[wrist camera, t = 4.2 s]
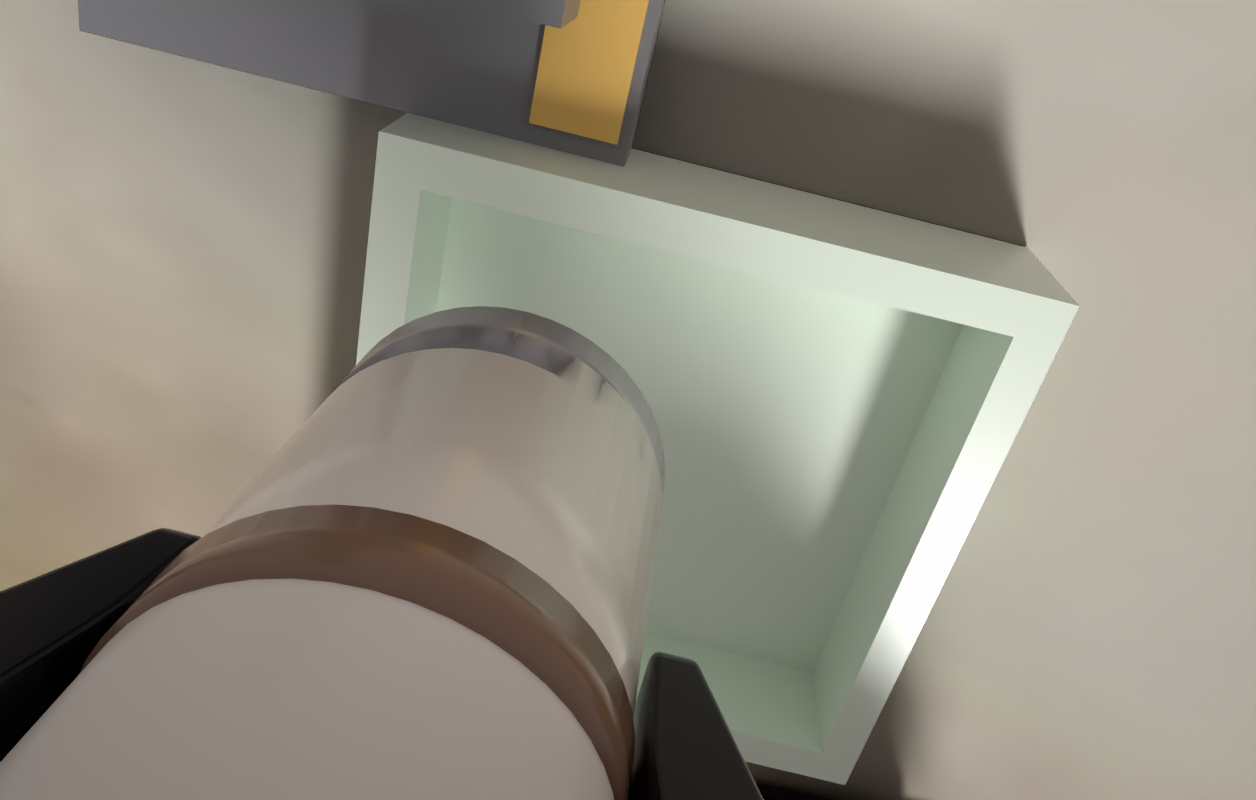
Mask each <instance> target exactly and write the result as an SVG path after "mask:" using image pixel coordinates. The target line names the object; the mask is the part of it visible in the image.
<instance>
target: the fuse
mask: <svg viewBox="0 0 1256 800" xmlns="http://www.w3.org/2000/svg"><path fill="white" fill-rule="evenodd" d="M664 481H665V460H664V449H663V444H662V440H661V436H660V432H659V428H658V425H657V423H656V420H655V418H654V416H653V413H652V411H651V408H650V406H649V405H648V403H647V401H646V399H645V398H644V396H643V394H642V392H641V391H640V389H639V388H638V387H637V385H636V384H635V383H634V381H633V380H632V379H631V377H630V376H629V375H628V373H627V372H626V371H625V370H624V369H623V368H622V367H621V366H620V365H619V364H618V363H617V362H616V361H615V360H614V359H613V358H612V357H611V356H610V355H609V354H608V353H606V352H605V351H604V350H602V349H601V348H600V347H599V346H597V345H596V344H595V343H594V342H592V341H591V340H589V339H587V338H586V337H584V336H583V335H581V334H579V333H578V332H576V331H574V330H573V329H571V328H569V327H566V326H564V325H562V324H560V323H558V322H555V321H553V320H551V319H548V318H545V317H542V316H539V315H536V314H532V313H529V312H525V311H520V310H514V309H509V308H503V307H487V306H475V307H459V308H454V309H448V310H443V311H438V312H435V313H432V314H429V315H426V316H423V317H420V318H417V319H415V320H413V321H411V322H409V323H407V324H405V325H403V326H401V327H399V328H397V329H396V330H394V331H393V332H391V333H390V334H389V335H387V336H386V337H384V338H383V339H382V340H380V341H379V342H378V343H377V344H376V345H375V346H374V347H373V348H372V349H371V350H370V351H369V352H368V353H367V354H366V355H365V356H364V357H363V358H362V359H361V360H360V362H359V363H358V364H357V365H356V366H355V367H354V368H353V369H352V370H351V372H350V373H349V374H348V375H347V376H346V377H345V378H344V379H343V381H342V382H341V383H340V384H339V385H338V386H337V387H336V388H335V389H334V391H333V392H332V393H331V394H330V395H329V396H328V397H327V398H326V399H325V401H324V402H323V403H322V404H321V405H320V406H319V407H318V408H317V410H316V411H315V412H314V413H313V414H312V415H311V416H310V417H309V418H308V420H307V421H306V422H305V423H304V424H303V425H302V426H301V427H300V428H299V430H298V431H297V432H296V433H295V434H294V435H293V436H292V437H291V439H290V440H289V441H288V442H287V443H286V444H285V445H284V446H283V447H282V449H281V450H280V451H279V452H278V453H277V454H276V455H275V456H274V457H273V459H272V460H271V461H270V462H269V463H268V464H267V465H266V466H265V468H264V469H263V470H262V471H261V472H260V473H259V474H258V475H257V476H256V478H255V479H254V480H253V481H252V482H251V483H250V484H249V485H248V487H247V488H246V489H245V490H244V491H243V492H242V493H241V494H240V495H239V497H238V498H237V499H236V500H235V501H234V502H233V503H232V504H231V505H230V507H229V508H228V509H227V510H226V511H225V512H224V513H223V514H222V516H221V517H220V518H219V519H218V520H217V521H216V522H215V523H214V524H213V526H212V527H211V528H210V529H209V530H208V531H207V532H206V533H205V534H204V536H203V537H202V538H201V539H199V540H198V541H196V542H195V543H193V544H192V545H190V546H189V547H188V548H186V549H185V550H184V551H183V552H182V553H180V554H179V555H178V556H177V557H176V558H175V559H174V560H173V561H172V562H171V563H170V564H169V565H168V566H167V567H166V568H165V569H164V570H163V571H162V572H161V573H160V574H159V575H158V577H157V578H156V579H155V580H154V581H153V582H152V583H151V584H150V585H149V586H148V587H147V589H146V590H145V591H144V592H143V593H142V594H141V595H140V596H139V597H138V598H137V600H136V601H135V602H134V603H133V604H132V605H131V606H130V607H129V608H128V609H127V611H126V612H125V613H124V614H123V615H122V616H121V617H120V618H119V619H118V620H117V622H116V623H115V624H114V625H113V626H112V627H111V628H110V629H109V630H108V631H107V633H106V634H105V635H104V636H103V637H102V638H101V639H100V641H99V642H98V643H97V645H96V646H95V648H94V649H93V650H92V652H91V653H90V655H89V656H88V657H87V659H86V660H85V662H84V664H83V667H82V669H81V671H80V673H79V675H78V676H77V677H76V678H75V680H74V681H73V682H72V683H71V684H70V685H69V686H68V687H67V688H66V690H65V691H64V692H63V693H62V694H61V695H60V696H59V697H58V698H57V700H56V701H55V702H54V703H53V704H52V705H51V706H50V707H49V709H48V710H47V711H46V712H45V713H44V714H43V715H42V716H41V717H40V719H39V720H38V721H37V722H36V723H35V724H34V725H33V726H32V727H31V729H30V730H29V731H28V732H27V733H26V734H25V735H24V736H23V738H22V739H21V740H20V741H19V742H18V743H17V744H16V745H15V746H14V748H13V749H12V750H11V751H10V752H9V753H8V754H7V755H6V756H5V758H4V759H3V760H2V761H1V762H0V800H629V799H630V791H631V783H632V775H633V767H634V754H635V730H634V722H633V718H634V711H635V703H636V696H637V688H638V680H639V673H640V665H641V658H642V650H643V643H644V635H645V628H646V620H647V612H648V605H649V597H650V590H651V582H652V575H653V567H654V560H655V552H656V544H657V537H658V529H659V522H660V514H661V507H662V499H663V492H664Z"/></svg>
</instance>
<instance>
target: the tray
mask: <svg viewBox="0 0 1256 800" xmlns="http://www.w3.org/2000/svg"><path fill="white" fill-rule="evenodd" d="M475 306H487V307H503V308H509V309H514V310H520V311H525V312H529V313H532V314H536V315H539V316H542V317H545V318H548V319H551V320H553V321H555V322H558V323H560V324H562V325H564V326H566V327H569V328H571V329H573V330H574V331H576V332H578V333H579V334H581V335H583V336H584V337H586V338H587V339H589V340H591V341H592V342H594V343H595V344H596V345H597V346H599V347H600V348H601V349H602V350H604V351H605V352H606V353H608V354H609V355H610V356H611V357H612V358H613V359H614V360H615V361H616V362H617V363H618V364H619V365H620V366H621V367H622V368H623V369H624V370H625V371H626V372H627V373H628V375H629V376H630V377H631V379H632V380H633V381H634V383H635V384H636V385H637V387H638V388H639V389H640V391H641V392H642V394H643V396H644V398H645V399H646V401H647V403H648V405H649V406H650V408H651V411H652V413H653V416H654V418H655V420H656V423H657V425H658V428H659V432H660V436H661V440H662V444H663V449H664V460H665V481H664V492H663V499H662V507H661V514H660V522H659V529H658V537H657V544H656V552H655V560H654V567H653V575H652V582H651V590H650V597H649V605H648V612H647V620H646V628H645V635H644V643H643V650H642V658H641V665H640V673H639V680H638V688H637V696H636V700H637V697H638V694H639V691H640V687H641V684H642V681H643V678H644V675H645V671H646V668H647V665H648V662H649V660H650V657H651V656H652V655H653V654H654V653H655V652H658V651H659V652H664V653H668V654H672V655H676V656H680V657H684V658H688V659H691V660H694V661H695V662H696V663H697V664H698V665H699V667H700V669H701V671H702V673H703V675H704V677H705V679H706V681H707V684H708V686H709V688H710V690H711V692H712V694H713V696H714V698H715V700H716V702H717V704H718V706H719V708H720V710H721V712H722V715H723V717H724V719H725V721H726V723H727V725H728V727H729V729H730V731H731V733H732V735H733V737H734V739H735V741H736V743H737V746H738V748H739V750H740V752H741V754H742V756H743V758H744V760H745V761H746V762H750V763H754V764H758V765H762V766H767V767H771V768H775V769H779V770H783V771H788V772H792V773H796V774H800V775H804V776H809V777H813V778H817V779H821V780H825V781H830V782H834V783H838V784H842V785H845V784H846V782H847V780H848V778H849V776H850V774H851V772H852V770H853V768H854V766H855V764H856V762H857V760H858V758H859V756H860V754H861V752H862V750H863V748H864V746H865V744H866V742H867V739H868V737H869V735H870V733H871V731H872V729H873V727H874V725H875V723H876V721H877V719H878V717H879V715H880V713H881V711H882V709H883V707H884V705H885V703H886V701H887V699H888V697H889V695H890V692H891V690H892V688H893V686H894V684H895V682H896V680H897V678H898V676H899V674H900V672H901V670H902V668H903V666H904V664H905V662H906V660H907V658H908V656H909V654H910V652H911V650H912V647H913V645H914V643H915V641H916V639H917V637H918V635H919V633H920V631H921V629H922V627H923V625H924V623H925V621H926V619H927V617H928V615H929V613H930V611H931V609H932V607H933V605H934V602H935V600H936V598H937V596H938V594H939V592H940V590H941V588H942V586H943V584H944V582H945V580H946V578H947V576H948V574H949V572H950V570H951V568H952V566H953V564H954V562H955V560H956V558H957V555H958V553H959V551H960V549H961V547H962V545H963V543H964V541H965V539H966V537H967V535H968V533H969V531H970V529H971V527H972V525H973V523H974V521H975V519H976V517H977V515H978V513H979V510H980V508H981V506H982V504H983V502H984V500H985V498H986V496H987V494H988V492H989V490H990V488H991V486H992V484H993V482H994V480H995V478H996V476H997V474H998V472H999V470H1000V468H1001V466H1002V463H1003V461H1004V459H1005V457H1006V455H1007V453H1008V451H1009V449H1010V447H1011V445H1012V443H1013V441H1014V439H1015V437H1016V435H1017V433H1018V431H1019V429H1020V427H1021V425H1022V423H1023V421H1024V418H1025V416H1026V414H1027V412H1028V410H1029V408H1030V406H1031V404H1032V402H1033V400H1034V398H1035V396H1036V394H1037V392H1038V390H1039V388H1040V386H1041V384H1042V382H1043V380H1044V378H1045V376H1046V373H1047V371H1048V369H1049V367H1050V365H1051V363H1052V361H1053V359H1054V357H1055V355H1056V353H1057V351H1058V349H1059V347H1060V345H1061V343H1062V341H1063V339H1064V337H1065V335H1066V333H1067V331H1068V329H1069V326H1070V324H1071V322H1072V320H1073V318H1074V316H1075V314H1076V312H1077V310H1078V308H1079V305H1078V304H1077V303H1076V302H1075V300H1074V299H1073V298H1072V297H1071V296H1070V295H1069V294H1068V293H1067V291H1066V290H1065V289H1064V288H1063V287H1062V286H1061V285H1060V284H1059V282H1058V281H1057V280H1056V279H1055V278H1054V277H1053V276H1052V274H1051V273H1050V272H1049V271H1048V270H1047V269H1046V268H1045V267H1044V265H1043V264H1042V263H1041V262H1040V261H1039V260H1038V259H1037V258H1036V256H1035V255H1034V254H1033V253H1032V252H1031V251H1030V250H1029V249H1028V248H1027V247H1023V246H1019V245H1015V244H1011V243H1007V242H1003V241H999V240H995V239H991V238H987V237H983V236H979V235H975V234H971V233H967V232H963V231H959V230H955V229H951V228H947V227H943V226H939V225H935V224H931V223H927V222H923V221H919V220H915V219H911V218H907V217H903V216H899V215H895V214H891V213H887V212H883V211H879V210H875V209H871V208H867V207H863V206H859V205H855V204H851V203H847V202H843V201H839V200H835V199H831V198H827V197H823V196H819V195H815V194H811V193H808V192H804V191H800V190H796V189H792V188H788V187H784V186H780V185H776V184H772V183H768V182H764V181H760V180H756V179H752V178H748V177H744V176H740V175H736V174H732V173H728V172H724V171H720V170H716V169H712V168H708V167H704V166H700V165H696V164H692V163H688V162H684V161H680V160H676V159H672V158H668V157H664V156H660V155H656V154H652V153H648V152H644V151H640V150H636V149H631V151H630V154H629V156H628V159H627V161H626V164H625V166H624V167H623V166H619V165H615V164H611V163H607V162H603V161H599V160H595V159H591V158H587V157H583V156H579V155H575V154H571V153H567V152H563V151H559V150H555V149H551V148H547V147H543V146H539V145H535V144H531V143H527V142H523V141H519V140H515V139H511V138H507V137H503V136H499V135H495V134H491V133H487V132H483V131H479V130H475V129H471V128H467V127H463V126H459V125H455V124H451V123H447V122H443V121H439V120H435V119H431V118H427V117H423V116H419V115H415V114H411V113H407V114H405V115H404V116H402V117H400V118H399V119H397V120H396V121H394V122H392V123H391V124H389V125H388V126H386V127H384V128H383V129H381V130H380V131H379V134H378V144H377V154H376V164H375V174H374V185H373V195H372V205H371V215H370V225H369V236H368V246H367V256H366V266H365V276H364V287H363V297H362V307H361V317H360V327H359V338H358V348H357V358H356V365H357V364H358V363H359V362H360V360H361V359H362V358H363V357H364V356H365V355H366V354H367V353H368V352H369V351H370V350H371V349H372V348H373V347H374V346H375V345H376V344H377V343H378V342H379V341H380V340H382V339H383V338H384V337H386V336H387V335H389V334H390V333H391V332H393V331H394V330H396V329H397V328H399V327H401V326H403V325H405V324H407V323H409V322H411V321H413V320H415V319H417V318H420V317H423V316H426V315H429V314H432V313H435V312H438V311H443V310H448V309H454V308H459V307H475Z"/></svg>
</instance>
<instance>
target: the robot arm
mask: <svg viewBox="0 0 1256 800" xmlns="http://www.w3.org/2000/svg"><path fill="white" fill-rule="evenodd" d="M201 538H202V537H200V536H196V535H192V534H188V533H184V532H180V531H176V530H172V529H165V528H161V529H157V530H153V531H151V532H148V533H146V534H143V535H141V536H138V537H136V538H133V539H131V540H128V541H126V542H123V543H121V544H118V545H116V546H113V547H111V548H108V549H106V550H103V551H101V552H98V553H96V554H93V555H91V556H88V557H86V558H83V559H81V560H78V561H76V562H73V563H71V564H68V565H66V566H63V567H61V568H58V569H56V570H53V571H51V572H48V573H46V574H43V575H41V576H38V577H36V578H33V579H31V580H28V581H26V582H23V583H21V584H18V585H16V586H13V587H11V588H8V589H6V590H3V591H1V592H0V762H1V761H2V760H3V759H4V758H5V756H6V755H7V754H8V753H9V752H10V751H11V750H12V749H13V748H14V746H15V745H16V744H17V743H18V742H19V741H20V740H21V739H22V738H23V736H24V735H25V734H26V733H27V732H28V731H29V730H30V729H31V727H32V726H33V725H34V724H35V723H36V722H37V721H38V720H39V719H40V717H41V716H42V715H43V714H44V713H45V712H46V711H47V710H48V709H49V707H50V706H51V705H52V704H53V703H54V702H55V701H56V700H57V698H58V697H59V696H60V695H61V694H62V693H63V692H64V691H65V690H66V688H67V687H68V686H69V685H70V684H71V683H72V682H73V681H74V680H75V678H76V677H77V676H78V675H79V673H80V671H81V669H82V667H83V664H84V662H85V660H86V659H87V657H88V656H89V655H90V653H91V652H92V650H93V649H94V648H95V646H96V645H97V643H98V642H99V641H100V639H101V638H102V637H103V636H104V635H105V634H106V633H107V631H108V630H109V629H110V628H111V627H112V626H113V625H114V624H115V623H116V622H117V620H118V619H119V618H120V617H121V616H122V615H123V614H124V613H125V612H126V611H127V609H128V608H129V607H130V606H131V605H132V604H133V603H134V602H135V601H136V600H137V598H138V597H139V596H140V595H141V594H142V593H143V592H144V591H145V590H146V589H147V587H148V586H149V585H150V584H151V583H152V582H153V581H154V580H155V579H156V578H157V577H158V575H159V574H160V573H161V572H162V571H163V570H164V569H165V568H166V567H167V566H168V565H169V564H170V563H171V562H172V561H173V560H174V559H175V558H176V557H177V556H178V555H179V554H180V553H182V552H183V551H184V550H185V549H186V548H188V547H189V546H190V545H192V544H193V543H195V542H196V541H198V540H199V539H201ZM633 722H634V730H635V754H634V767H633V775H632V783H631V791H630V799H629V800H828V799H823V798H819V797H815V796H811V795H807V794H802V793H798V792H794V791H790V790H786V789H781V788H777V787H773V786H769V785H765V784H758V783H755V781H754V779H753V777H752V775H751V772H750V770H749V768H748V766H747V764H746V762H745V760H744V758H743V756H742V754H741V752H740V750H739V748H738V746H737V743H736V741H735V739H734V737H733V735H732V733H731V731H730V729H729V727H728V725H727V723H726V721H725V719H724V717H723V715H722V712H721V710H720V708H719V706H718V704H717V702H716V700H715V698H714V696H713V694H712V692H711V690H710V688H709V686H708V684H707V681H706V679H705V677H704V675H703V673H702V671H701V669H700V667H699V665H698V664H697V663H696V662H695V661H694V660H691V659H688V658H684V657H680V656H676V655H672V654H668V653H664V652H659V651H658V652H655V653H654V654H653V655H652V656H651V657H650V660H649V662H648V665H647V668H646V671H645V675H644V678H643V681H642V684H641V687H640V691H639V694H638V697H637V700H636V703H635V711H634V718H633Z"/></svg>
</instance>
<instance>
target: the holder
mask: <svg viewBox="0 0 1256 800" xmlns="http://www.w3.org/2000/svg"><path fill="white" fill-rule="evenodd" d="M664 3H665V0H78V6H79V27H80V31H83V32H87V33H91V34H95V35H99V36H103V37H107V38H111V39H115V40H119V41H123V42H127V43H131V44H135V45H139V46H143V47H147V48H151V49H155V50H159V51H163V52H167V53H171V54H175V55H179V56H183V57H187V58H191V59H195V60H199V61H203V62H207V63H211V64H215V65H219V66H223V67H227V68H231V69H235V70H239V71H243V72H247V73H251V74H255V75H259V76H263V77H267V78H271V79H275V80H279V81H283V82H287V83H291V84H295V85H299V86H303V87H307V88H311V89H315V90H319V91H323V92H327V93H331V94H335V95H339V96H343V97H347V98H351V99H355V100H359V101H363V102H367V103H371V104H375V105H379V106H383V107H387V108H391V109H395V110H399V111H403V112H407V113H411V114H415V115H419V116H423V117H427V118H431V119H435V120H439V121H443V122H447V123H451V124H455V125H459V126H463V127H467V128H471V129H475V130H479V131H483V132H487V133H491V134H495V135H499V136H503V137H507V138H511V139H515V140H519V141H523V142H527V143H531V144H535V145H539V146H543V147H547V148H551V149H555V150H559V151H563V152H567V153H571V154H575V155H579V156H583V157H587V158H591V159H595V160H599V161H603V162H607V163H611V164H615V165H619V166H623V167H624V166H625V164H626V161H627V159H628V156H629V154H630V151H631V149H632V145H633V140H634V136H635V131H636V127H637V123H638V118H639V114H640V109H641V105H642V100H643V96H644V92H645V87H646V83H647V78H648V74H649V69H650V65H651V61H652V56H653V52H654V47H655V43H656V38H657V34H658V30H659V25H660V21H661V16H662V12H663V7H664Z"/></svg>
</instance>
